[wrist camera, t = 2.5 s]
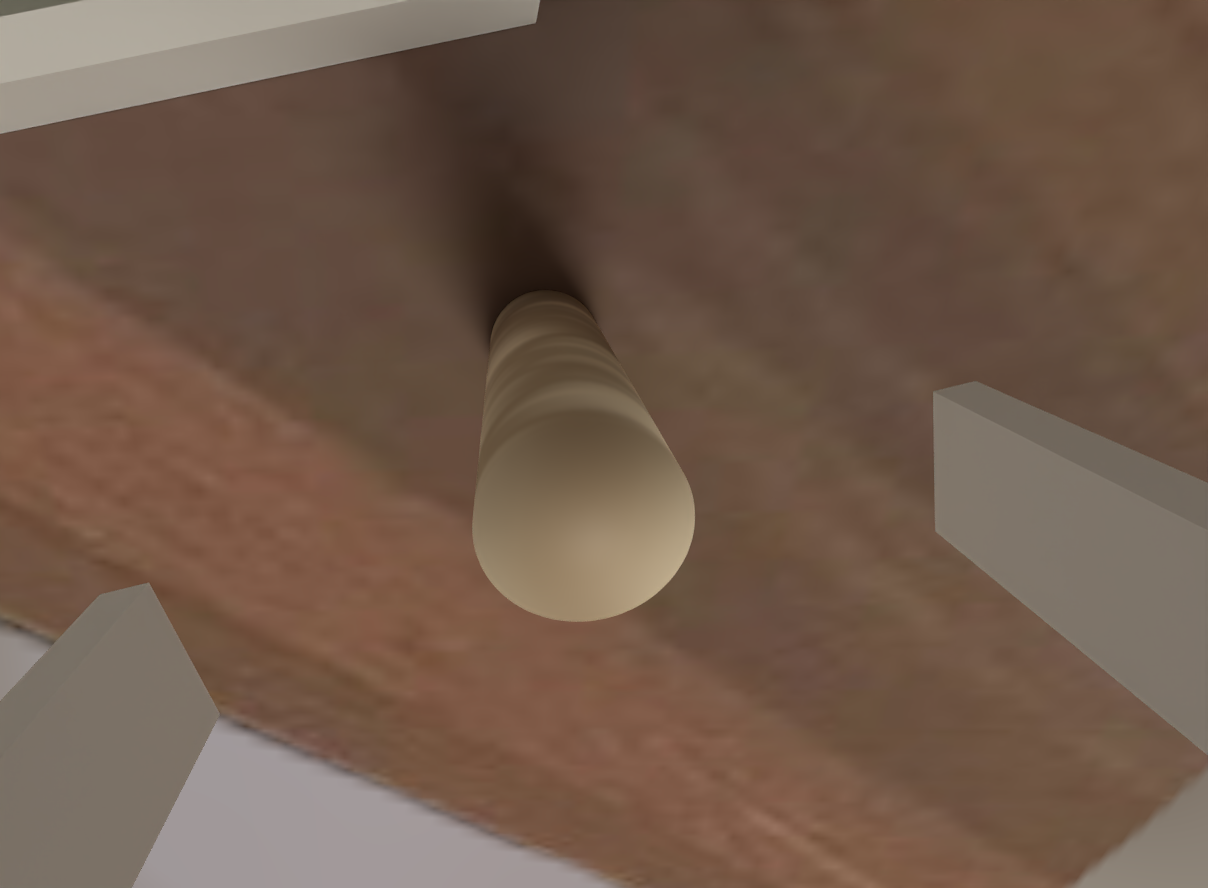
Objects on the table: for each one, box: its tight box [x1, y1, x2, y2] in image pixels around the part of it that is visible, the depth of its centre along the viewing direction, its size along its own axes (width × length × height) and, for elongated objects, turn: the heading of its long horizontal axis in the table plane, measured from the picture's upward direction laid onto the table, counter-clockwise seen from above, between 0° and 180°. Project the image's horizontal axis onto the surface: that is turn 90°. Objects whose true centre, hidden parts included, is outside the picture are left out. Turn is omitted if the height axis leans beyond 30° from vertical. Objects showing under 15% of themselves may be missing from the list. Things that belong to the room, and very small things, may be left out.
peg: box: [472, 290, 695, 622], centre depth 19 cm, size 4×4×14 cm
